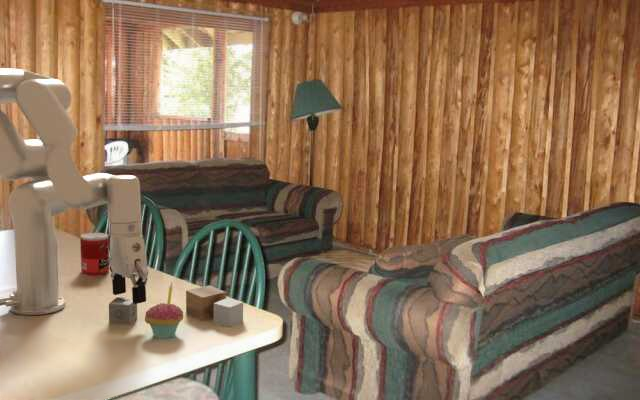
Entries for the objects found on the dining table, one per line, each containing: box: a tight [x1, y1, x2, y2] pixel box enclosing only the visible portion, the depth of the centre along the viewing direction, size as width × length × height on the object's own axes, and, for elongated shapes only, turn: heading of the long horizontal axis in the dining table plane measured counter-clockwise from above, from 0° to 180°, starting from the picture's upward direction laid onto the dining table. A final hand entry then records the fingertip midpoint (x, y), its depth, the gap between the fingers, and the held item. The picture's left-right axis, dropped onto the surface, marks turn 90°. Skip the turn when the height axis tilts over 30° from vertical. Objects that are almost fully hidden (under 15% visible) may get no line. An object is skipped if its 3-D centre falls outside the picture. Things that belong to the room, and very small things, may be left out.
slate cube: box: [213, 297, 244, 328], centre depth 167 cm, size 5×5×5 cm
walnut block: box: [185, 285, 227, 322], centre depth 172 cm, size 7×7×6 cm
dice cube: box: [108, 296, 138, 326], centre depth 165 cm, size 5×5×5 cm
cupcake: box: [144, 282, 184, 339], centre depth 157 cm, size 9×8×12 cm
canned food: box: [79, 232, 110, 276], centre depth 204 cm, size 8×8×11 cm
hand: (129, 298), depth 166 cm, fingers open, 9 cm apart
